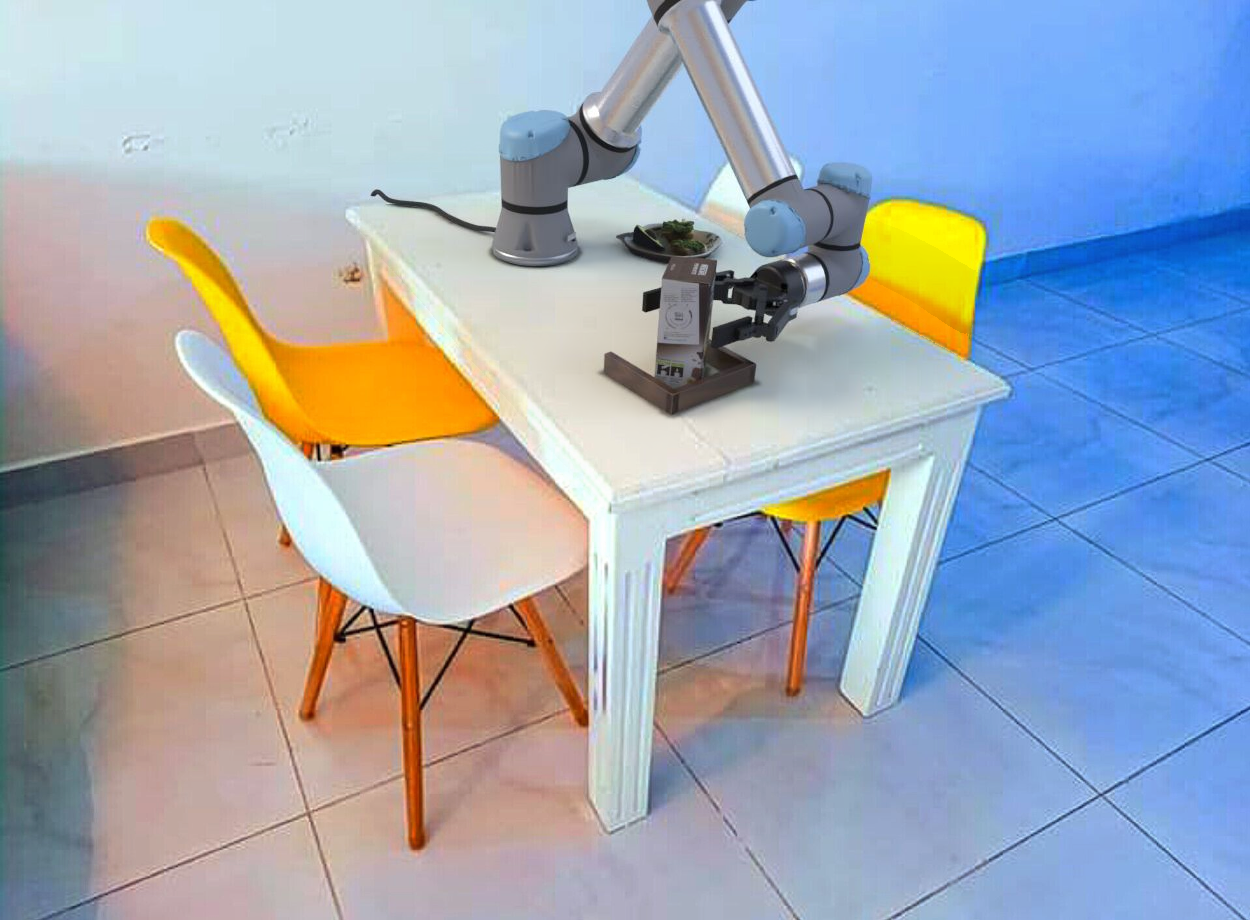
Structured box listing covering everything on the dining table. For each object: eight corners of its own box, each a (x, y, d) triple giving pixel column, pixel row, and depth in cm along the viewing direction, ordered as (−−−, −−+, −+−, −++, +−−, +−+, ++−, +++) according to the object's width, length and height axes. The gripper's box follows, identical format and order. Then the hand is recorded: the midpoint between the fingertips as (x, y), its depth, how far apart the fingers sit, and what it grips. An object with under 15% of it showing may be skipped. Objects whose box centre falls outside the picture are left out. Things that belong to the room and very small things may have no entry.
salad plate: (654, 222, 182) (655, 199, 179) (737, 240, 175) (739, 216, 173) (606, 250, 167) (607, 225, 165) (694, 271, 161) (697, 246, 158)
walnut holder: (603, 372, 127) (604, 353, 125) (685, 345, 136) (686, 326, 134) (671, 415, 118) (672, 394, 116) (754, 382, 127) (756, 363, 125)
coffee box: (699, 397, 122) (710, 284, 114) (652, 391, 123) (659, 278, 114) (707, 367, 130) (719, 258, 121) (663, 361, 131) (671, 253, 122)
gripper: (849, 340, 126) (742, 381, 115) (722, 282, 142) (617, 313, 130) (859, 289, 122) (749, 327, 111) (728, 235, 138) (619, 263, 126)
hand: (677, 319), depth 121 cm, fingers open, 13 cm apart
